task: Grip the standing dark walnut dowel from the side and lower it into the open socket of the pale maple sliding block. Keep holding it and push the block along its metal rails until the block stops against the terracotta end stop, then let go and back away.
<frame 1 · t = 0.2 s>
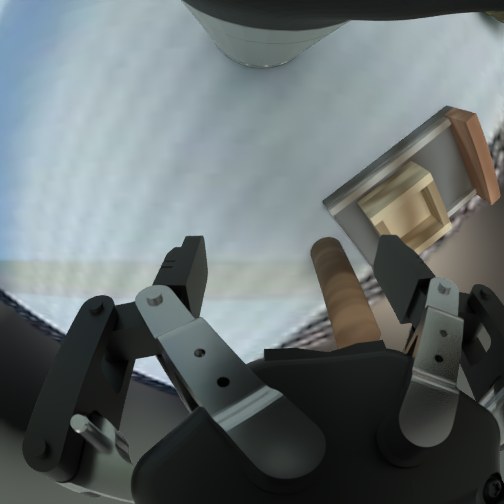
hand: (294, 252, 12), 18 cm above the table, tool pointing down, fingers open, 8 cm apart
cup: (482, 4, 12), on the table
sliding block: (407, 214, 26), point 4 cm above the table, slide at 0.0 cm
rail board: (411, 187, 28), on the table
dowel: (326, 251, 33), on the table
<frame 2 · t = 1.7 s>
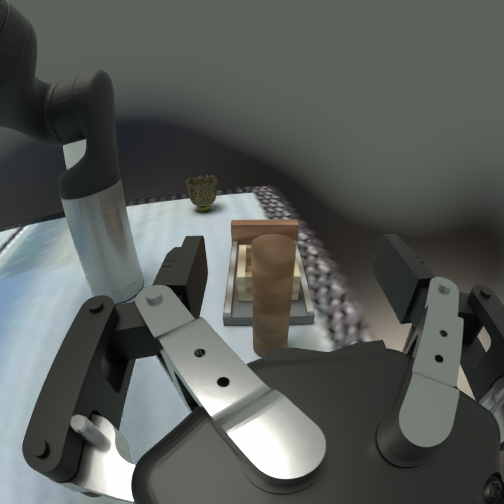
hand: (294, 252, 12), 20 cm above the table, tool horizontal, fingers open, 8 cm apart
cylindrical container: (98, 237, 57), on the table
cup: (204, 210, 68), on the table
sliding block: (267, 271, 39), point 4 cm above the table, slide at 0.0 cm
rail board: (266, 278, 44), on the table
dowel: (269, 346, 32), on the table
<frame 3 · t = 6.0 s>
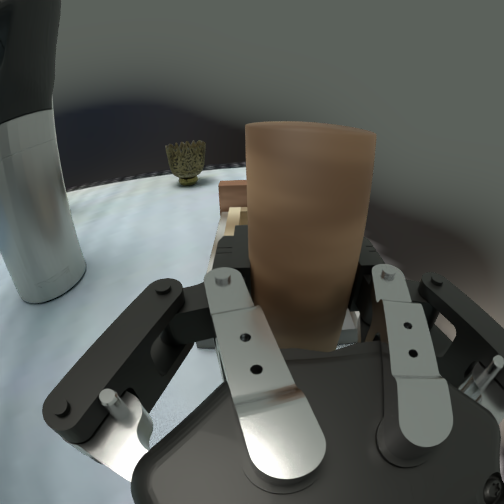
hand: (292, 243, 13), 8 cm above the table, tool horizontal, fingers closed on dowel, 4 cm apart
cup: (188, 184, 51), on the table
sliding block: (277, 248, 22), point 4 cm above the table, slide at 0.0 cm
rail board: (274, 265, 26), on the table
dowel: (286, 391, 15), on the table, touching gripper
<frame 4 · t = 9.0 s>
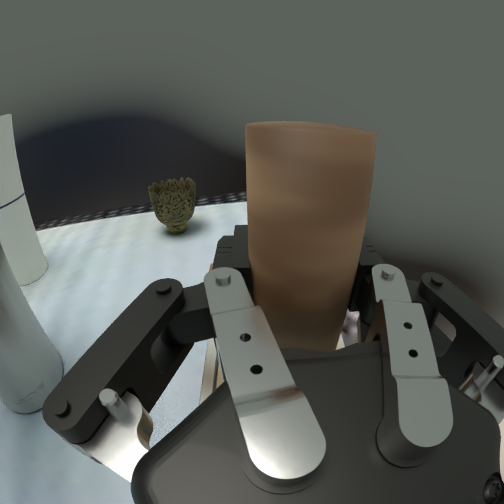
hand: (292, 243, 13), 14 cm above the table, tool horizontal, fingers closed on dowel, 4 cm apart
cylindrical container: (31, 273, 34), on the table
cup: (177, 231, 45), on the table
sliding block: (282, 399, 16), point 4 cm above the table, slide at 0.0 cm
rail board: (277, 388, 20), on the table
dowel: (286, 391, 15), point 5 cm above the table, touching gripper
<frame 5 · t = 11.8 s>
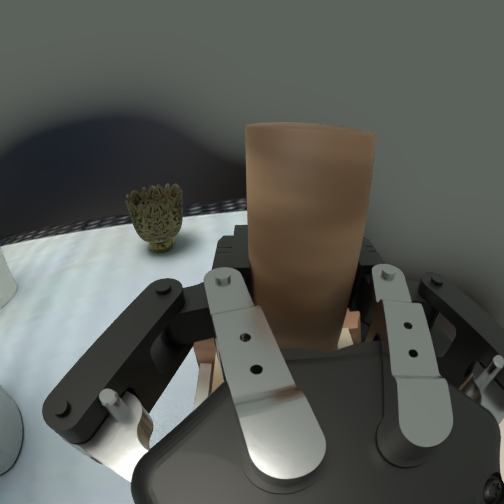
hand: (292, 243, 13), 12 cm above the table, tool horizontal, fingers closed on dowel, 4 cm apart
cup: (163, 248, 37), on the table
sliding block: (287, 404, 14), point 4 cm above the table, slide at 7.0 cm, touching dowel, rail board
rail board: (286, 479, 12), on the table
dowel: (286, 392, 15), point 3 cm above the table, touching gripper, sliding block
when the fingers open (12 cm above the table, at t = 12.2 s): dowel stays where it is, resting on sliding block.
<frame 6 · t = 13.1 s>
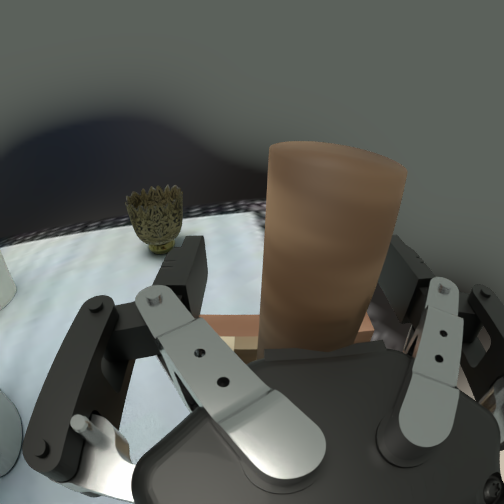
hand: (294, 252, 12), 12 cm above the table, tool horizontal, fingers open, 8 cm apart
cup: (163, 250, 36), on the table
sliding block: (288, 409, 14), point 4 cm above the table, slide at 7.0 cm, touching dowel, rail board
rail board: (286, 483, 12), on the table
dowel: (286, 403, 15), point 3 cm above the table, touching sliding block
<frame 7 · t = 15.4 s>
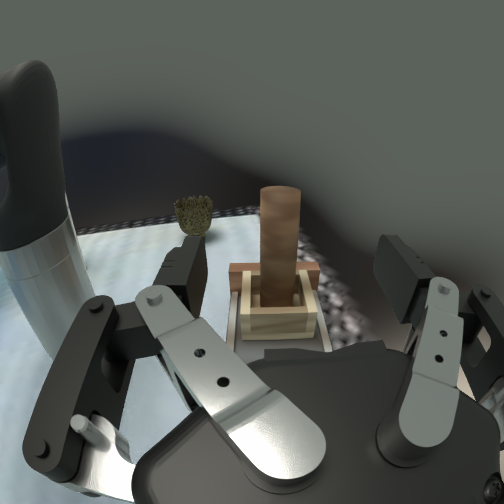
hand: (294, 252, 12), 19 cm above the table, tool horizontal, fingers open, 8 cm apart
cup: (197, 239, 55), on the table
sliding block: (276, 303, 32), point 4 cm above the table, slide at 7.0 cm, touching dowel
rail board: (277, 348, 31), on the table
dowel: (276, 304, 33), point 3 cm above the table, touching sliding block
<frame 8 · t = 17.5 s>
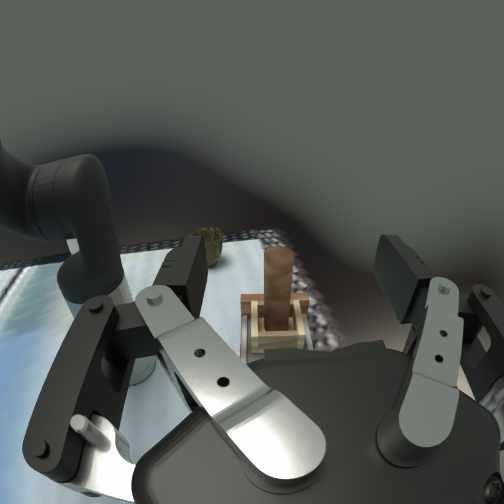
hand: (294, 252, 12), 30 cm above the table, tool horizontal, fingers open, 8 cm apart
cup: (209, 264, 67), on the table
sliding block: (276, 326, 44), point 4 cm above the table, slide at 7.0 cm, touching dowel
rail board: (276, 358, 42), on the table
dowel: (276, 326, 45), point 3 cm above the table, touching sliding block
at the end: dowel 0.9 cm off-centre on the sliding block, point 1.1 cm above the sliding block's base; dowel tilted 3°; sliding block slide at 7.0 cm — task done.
